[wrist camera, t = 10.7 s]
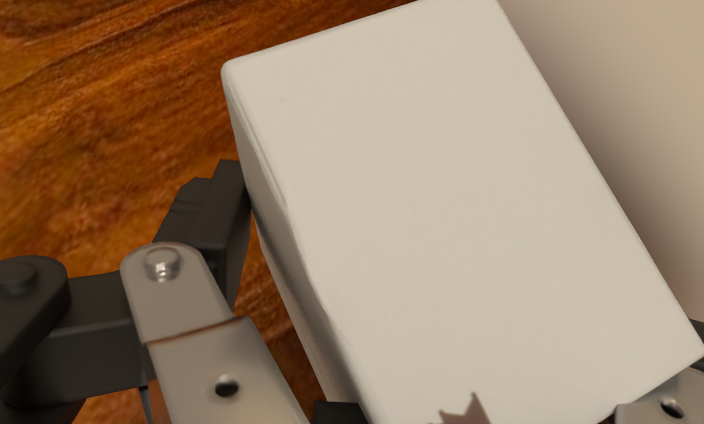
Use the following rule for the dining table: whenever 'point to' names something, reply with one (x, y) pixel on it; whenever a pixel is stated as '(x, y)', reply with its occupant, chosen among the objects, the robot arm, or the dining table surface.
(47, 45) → the dining table surface
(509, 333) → the cosmetic box
